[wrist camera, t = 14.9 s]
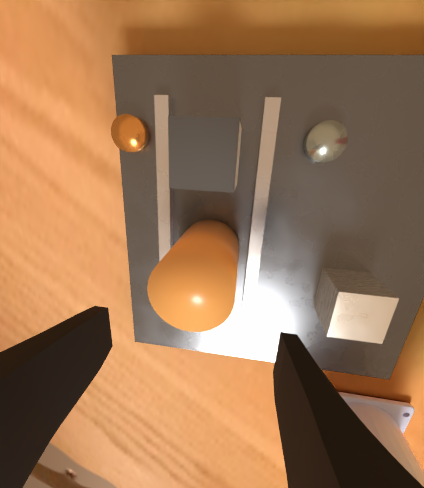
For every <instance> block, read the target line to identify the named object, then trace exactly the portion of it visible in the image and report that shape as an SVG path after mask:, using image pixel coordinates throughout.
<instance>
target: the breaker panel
mask: <svg viewBox="0 0 424 488" xmlns="http://www.w3.org/2000/svg"><path fill="white" fill-rule="evenodd" d="M112 63H113V75H114V87H115V100H116V112H117V118H116V119H115V120H114V121H113V124H112V127H111V135H112V138H113V141H114V143H115V144H116V145H117V147H118V148H119V149H120V162H121V174H122V186H123V199H124V211H125V223H126V236H127V248H128V260H129V273H130V285H131V297H132V310H133V322H134V334H135V342H141V343H148V344H155V345H161V346H168V347H175V348H181V349H188V350H195V351H202V352H208V353H215V354H222V355H228V356H235V357H242V358H248V359H255V360H262V361H268V362H275V359H276V354H277V349H278V343H279V338H280V333H281V332H284V333H291V334H297V335H298V336H299V338H300V339H301V341H302V342H303V344H304V345H305V347H306V348H307V350H308V351H309V353H310V354H311V356H312V357H313V359H314V360H315V362H316V363H317V364H318V366H319V367H320V369H322V370H329V371H335V372H342V373H349V374H355V375H362V376H369V377H375V378H382V379H390V377H391V374H392V372H393V370H394V367H395V365H396V362H397V360H398V358H399V355H400V353H401V350H402V348H403V345H404V343H405V341H406V338H407V336H408V333H409V331H410V329H411V326H412V324H413V321H414V319H415V317H416V314H417V312H418V309H419V307H420V305H421V302H422V300H423V297H424V55H112ZM168 116H191V117H223V118H239V119H240V124H241V128H242V132H241V144H240V157H239V169H238V181H237V186H236V188H235V190H234V193H231V192H216V191H202V190H187V189H172V188H169V150H168ZM202 220H216V221H220V222H222V223H224V224H226V225H227V226H229V227H230V228H231V229H232V230H233V232H234V233H235V234H236V236H237V238H238V241H239V247H240V251H239V262H238V272H237V283H236V294H235V303H234V307H233V310H232V312H231V314H230V316H229V317H228V318H227V320H226V321H225V322H224V323H222V324H221V325H220V326H218V327H216V328H214V329H211V330H208V331H203V332H189V331H184V330H181V329H178V328H176V327H173V326H172V325H170V324H168V323H167V322H165V321H164V320H163V319H162V318H161V317H160V316H159V315H158V314H157V313H156V312H155V310H154V309H153V307H152V305H151V303H150V301H149V297H148V291H147V285H148V280H149V277H150V274H151V272H152V271H153V269H154V268H155V267H156V265H157V264H158V263H159V262H160V261H161V260H162V258H163V257H164V256H165V255H166V254H167V253H168V251H169V250H170V249H171V248H172V247H173V246H174V244H175V243H176V242H177V241H178V240H179V239H180V237H181V236H182V235H183V234H184V233H185V232H186V231H187V229H188V228H189V227H190V226H192V225H193V224H195V223H196V222H199V221H202Z"/></svg>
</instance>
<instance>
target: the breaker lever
mask: <svg viewBox="0 0 424 488" xmlns="http://www.w3.org/2000/svg"><path fill="white" fill-rule="evenodd" d="M241 132H242V128H241V124H240V119H239V118H223V117H191V116H168V150H169V188H172V189H187V190H202V191H216V192H231V193H234V190H235V188H236V186H237V181H238V169H239V157H240V144H241Z"/></svg>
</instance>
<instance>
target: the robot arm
mask: <svg viewBox="0 0 424 488" xmlns="http://www.w3.org/2000/svg"><path fill="white" fill-rule="evenodd" d="M111 348H112V338H111V329H110V321H109V312H108V308H105V307H98V306H94V307H91V308H89V309H87V310H85V311H83V312H81V313H79V314H77V315H75V316H73V317H71V318H69V319H67V320H65V321H63V322H61V323H59V324H57V325H55V326H54V327H52V328H50V329H48V330H46V331H44V332H42V333H40V334H38V335H36V336H34V337H32V338H29V339H27V340H25V341H23V342H21V343H19V344H17V345H15V346H13V347H11V348H8V349H6V350H4V351H2V352H0V488H23V486H24V484H25V482H26V481H27V479H28V477H29V475H30V474H31V472H32V470H33V468H34V467H35V465H36V463H37V462H38V460H39V458H40V457H41V455H42V453H43V452H44V450H45V448H46V447H47V445H48V443H49V442H50V440H51V439H52V437H53V436H54V434H55V433H56V431H57V430H58V428H59V427H60V425H61V424H62V422H63V421H64V419H65V418H66V417H67V415H68V414H69V412H70V411H71V410H72V408H73V407H74V405H75V404H76V403H77V401H78V400H79V398H80V397H81V396H82V394H83V393H84V391H85V390H86V389H87V387H88V386H89V384H90V383H91V381H92V380H93V378H94V377H95V376H96V374H97V373H98V371H99V370H100V368H101V366H102V365H103V363H104V361H105V359H106V357H107V355H108V354H109V352H110V350H111ZM273 378H274V396H275V405H276V411H277V417H278V424H279V430H280V436H281V442H282V449H283V455H284V461H285V467H286V473H287V481H288V488H424V470H423V469H422V467H421V465H420V463H419V461H418V460H417V458H416V456H415V454H414V453H413V451H412V449H411V447H410V445H409V444H408V442H407V440H406V438H405V437H404V435H403V433H404V431H405V429H406V427H407V425H408V423H409V421H410V419H411V417H412V415H413V413H414V408H413V406H412V405H411V404H410V403H406V402H399V401H393V400H387V399H380V398H374V397H368V396H362V395H355V394H349V393H343V392H338V391H337V390H336V389H335V388H334V386H333V385H332V384H331V382H330V381H329V380H328V378H327V377H326V375H325V374H324V373H323V371H322V370H321V369H320V367H319V366H318V364H317V363H316V362H315V360H314V359H313V357H312V356H311V354H310V353H309V351H308V350H307V348H306V347H305V345H304V344H303V342H302V341H301V339H300V338H299V336H298V335H297V334H291V333H284V332H281V333H280V338H279V343H278V349H277V354H276V359H275V365H274V370H273Z"/></svg>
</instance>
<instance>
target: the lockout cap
mask: <svg viewBox="0 0 424 488" xmlns="http://www.w3.org/2000/svg"><path fill="white" fill-rule="evenodd" d="M239 251H240V247H239V241H238V238H237V236H236V234H235V233H234V232H233V230H232V229H231V228H230V227H229V226H227V225H226V224H224V223H222V222H220V221H216V220H202V221H199V222H196V223H195V224H193V225H192V226H190V227H189V228H188V229H187V231H186V232H185V233H184V234H183V235H182V236H181V237H180V239H179V240H178V241H177V242H176V243H175V244H174V246H173V247H172V248H171V249H170V250H169V251H168V253H167V254H166V255H165V256H164V257H163V258H162V260H161V261H160V262H159V263H158V264H157V265H156V267H155V268H154V269H153V271H152V272H151V274H150V277H149V280H148V285H147V291H148V297H149V301H150V303H151V305H152V307H153V309H154V310H155V312H156V313H157V314H158V315H159V316H160V317H161V318H162V319H163V320H164V321H165V322H167V323H168V324H170V325H172V326H173V327H176V328H178V329H181V330H184V331H189V332H203V331H208V330H211V329H214V328H216V327H218V326H220V325H221V324H222V323H224V322H225V321H226V320H227V318H228V317H229V316H230V314H231V312H232V310H233V307H234V303H235V294H236V283H237V272H238V262H239Z"/></svg>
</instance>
